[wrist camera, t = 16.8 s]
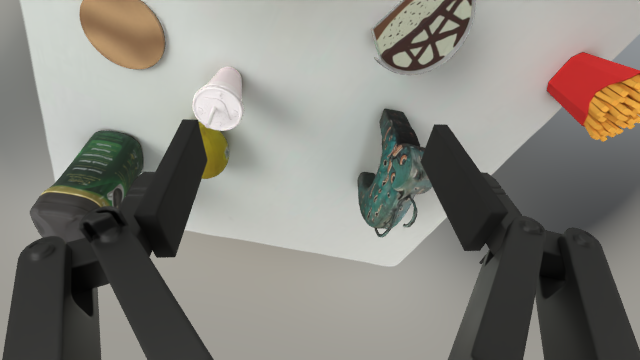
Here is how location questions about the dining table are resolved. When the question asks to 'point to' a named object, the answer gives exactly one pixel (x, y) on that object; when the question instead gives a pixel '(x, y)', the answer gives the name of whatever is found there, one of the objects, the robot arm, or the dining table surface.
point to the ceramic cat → (393, 175)
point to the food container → (422, 34)
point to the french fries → (598, 94)
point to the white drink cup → (220, 101)
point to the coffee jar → (88, 184)
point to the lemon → (214, 151)
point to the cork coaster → (123, 31)
